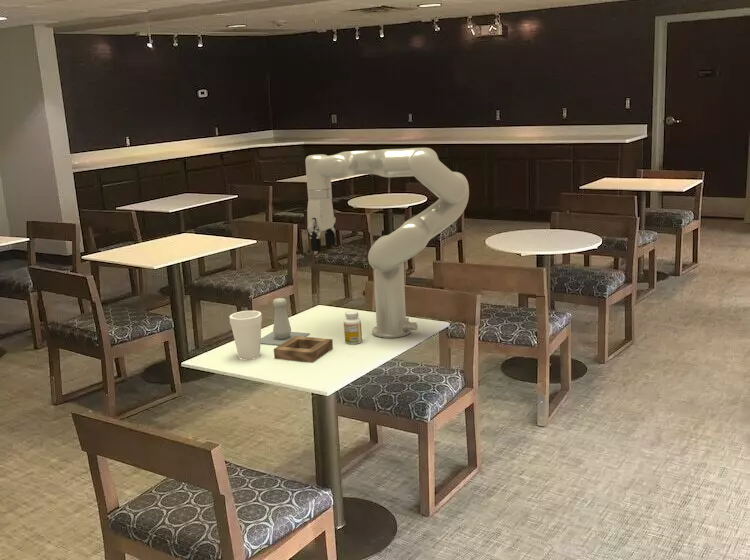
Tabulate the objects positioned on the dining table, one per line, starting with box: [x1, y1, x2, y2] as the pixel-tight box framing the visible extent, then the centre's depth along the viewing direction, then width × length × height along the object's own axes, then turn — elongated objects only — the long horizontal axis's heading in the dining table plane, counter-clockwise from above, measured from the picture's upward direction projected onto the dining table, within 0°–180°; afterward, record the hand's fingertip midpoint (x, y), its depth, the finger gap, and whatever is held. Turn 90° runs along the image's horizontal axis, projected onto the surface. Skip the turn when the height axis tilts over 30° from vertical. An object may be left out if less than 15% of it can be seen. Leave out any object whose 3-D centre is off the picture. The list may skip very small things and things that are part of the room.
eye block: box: [273, 336, 334, 363], centre depth 231 cm, size 13×13×3 cm
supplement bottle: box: [343, 310, 363, 345], centre depth 239 cm, size 5×5×10 cm
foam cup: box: [228, 310, 263, 360], centre depth 230 cm, size 10×9×13 cm
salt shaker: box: [272, 297, 292, 340], centre depth 245 cm, size 6×6×13 cm
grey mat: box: [260, 331, 310, 347], centre depth 247 cm, size 13×13×1 cm
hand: (323, 247), depth 244 cm, fingers open, 9 cm apart
